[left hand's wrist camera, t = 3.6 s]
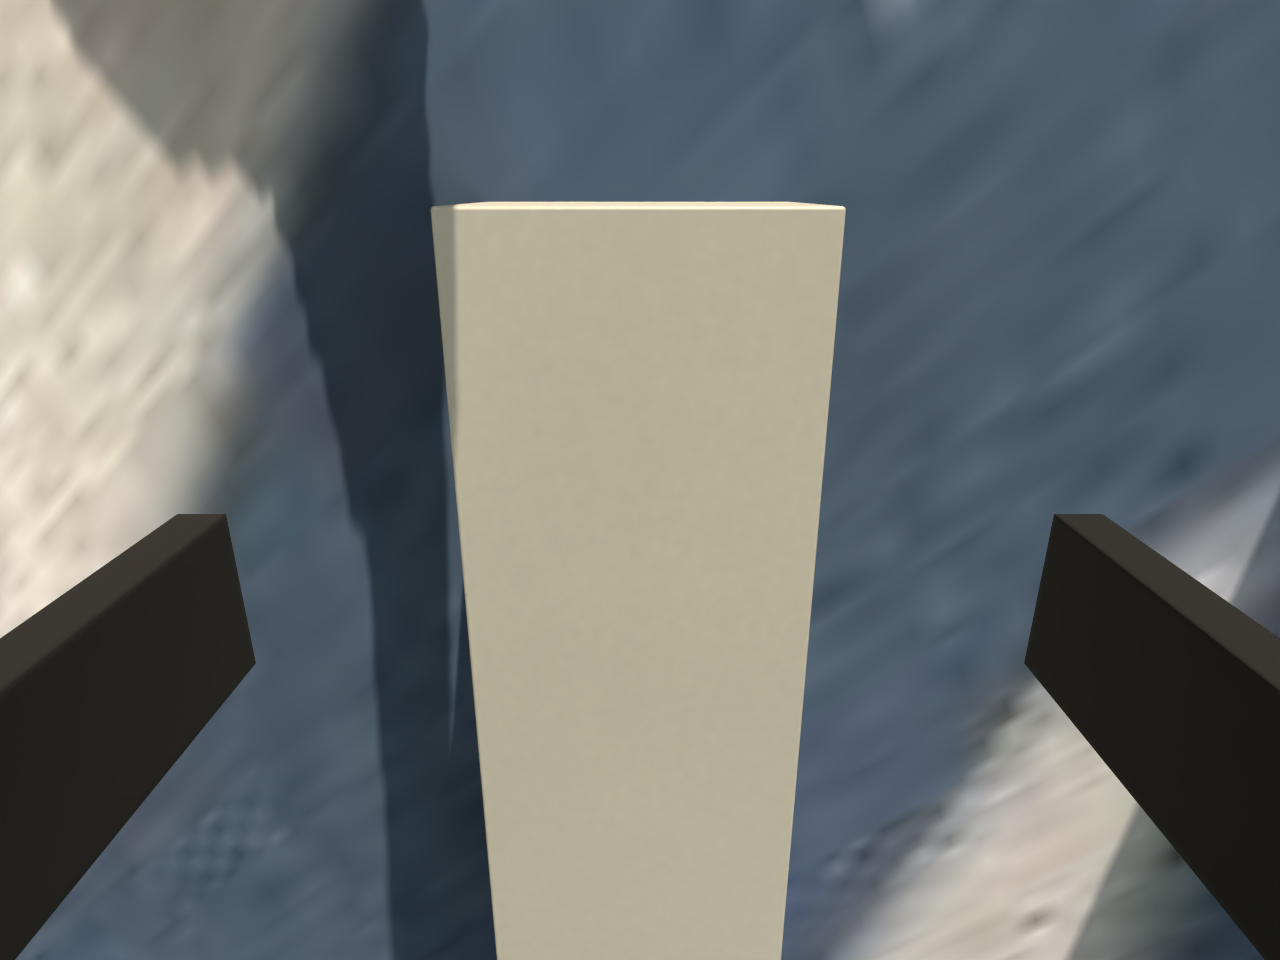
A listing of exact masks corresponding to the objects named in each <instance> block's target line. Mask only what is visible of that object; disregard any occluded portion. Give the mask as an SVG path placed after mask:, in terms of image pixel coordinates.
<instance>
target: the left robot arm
mask: <svg viewBox="0 0 1280 960" xmlns="http://www.w3.org/2000/svg"><path fill="white" fill-rule="evenodd" d="M255 663H256V662H255V657H254V652H253V647H252V642H251V637H250V632H249V627H248V622H247V617H246V612H245V607H244V602H243V597H242V592H241V587H240V582H239V577H238V572H237V567H236V563H235V558H234V553H233V548H232V543H231V538H230V533H229V528H228V523H227V518H226V514H177V515H176V516H174V517H173V518H171V519H170V520H169V521H167V522H166V523H164V524H163V525H161V526H160V527H159V528H157V529H156V530H154V531H153V532H151V533H150V534H149V535H147V536H146V537H144V538H143V539H141V540H140V541H139V542H137V543H136V544H134V545H133V546H132V547H130V548H129V549H127V550H126V551H124V552H123V553H122V554H120V555H119V556H117V557H116V558H114V559H113V560H112V561H110V562H109V563H107V564H106V565H104V566H103V567H102V568H100V569H99V570H97V571H96V572H94V573H93V574H92V575H90V576H89V577H87V578H86V579H84V580H83V581H82V582H80V583H79V584H77V585H76V586H75V587H73V588H72V589H70V590H69V591H67V592H66V593H65V594H63V595H62V596H60V597H59V598H57V599H56V600H55V601H53V602H52V603H50V604H49V605H47V606H46V607H45V608H43V609H42V610H40V611H39V612H37V613H36V614H35V615H33V616H32V617H30V618H29V619H27V620H26V621H25V622H23V623H22V624H20V625H19V626H17V627H16V628H15V629H13V630H12V631H10V632H9V633H8V634H6V635H5V636H3V637H2V638H0V960H15V959H16V958H17V957H18V955H19V954H20V953H21V952H22V950H23V949H24V948H25V947H26V945H27V944H28V943H29V942H30V940H31V939H32V938H33V937H34V936H35V934H36V933H37V932H38V931H39V929H40V928H41V927H42V926H43V924H44V923H45V922H46V921H47V920H48V918H49V917H50V916H51V915H52V913H53V912H54V911H55V910H56V908H57V907H58V906H59V905H60V904H61V902H62V901H63V900H64V899H65V897H66V896H67V895H68V894H69V892H70V891H71V890H72V889H73V888H74V886H75V885H76V884H77V883H78V881H79V880H80V879H81V878H82V876H83V875H84V874H85V873H86V872H87V870H88V869H89V868H90V867H91V865H92V864H93V863H94V862H95V860H96V859H97V858H98V857H99V855H100V854H101V853H102V852H103V851H104V849H105V848H106V847H107V846H108V844H109V843H110V842H111V841H112V839H113V838H114V837H115V836H116V835H117V833H118V832H119V831H120V830H121V828H122V827H123V826H124V825H125V823H126V822H127V821H128V820H129V819H130V817H131V816H132V815H133V814H134V812H135V811H136V810H137V809H138V807H139V806H140V805H141V804H142V803H143V801H144V800H145V799H146V798H147V796H148V795H149V794H150V793H151V791H152V790H153V789H154V788H155V787H156V785H157V784H158V783H159V782H160V780H161V779H162V778H163V777H164V775H165V774H166V773H167V772H168V770H169V769H170V768H171V767H172V766H173V764H174V763H175V762H176V761H177V759H178V758H179V757H180V756H181V754H182V753H183V752H184V751H185V750H186V748H187V747H188V746H189V745H190V743H191V742H192V741H193V740H194V738H195V737H196V736H197V735H198V734H199V732H200V731H201V730H202V729H203V727H204V726H205V725H206V724H207V722H208V721H209V720H210V719H211V718H212V716H213V715H214V714H215V713H216V711H217V710H218V709H219V708H220V706H221V705H222V704H223V703H224V702H225V700H226V699H227V698H228V697H229V695H230V694H231V693H232V692H233V690H234V689H235V688H236V687H237V685H238V684H239V683H240V682H241V681H242V679H243V678H244V677H245V676H246V674H247V673H248V672H249V671H250V669H251V668H252V667H253V666H254V665H255ZM1024 663H1025V665H1026V666H1027V667H1028V668H1029V669H1030V671H1031V672H1032V673H1033V674H1034V676H1035V677H1036V678H1037V679H1038V681H1039V682H1040V683H1041V684H1042V686H1043V687H1044V688H1045V689H1046V690H1047V692H1048V693H1049V694H1050V695H1051V697H1052V698H1053V699H1054V700H1055V702H1056V703H1057V704H1058V705H1059V706H1060V708H1061V709H1062V710H1063V711H1064V713H1065V714H1066V715H1067V716H1068V718H1069V719H1070V720H1071V721H1072V722H1073V724H1074V725H1075V726H1076V727H1077V729H1078V730H1079V731H1080V732H1081V734H1082V735H1083V736H1084V737H1085V738H1086V740H1087V741H1088V742H1089V743H1090V745H1091V746H1092V747H1093V748H1094V750H1095V751H1096V752H1097V753H1098V754H1099V756H1100V757H1101V758H1102V759H1103V761H1104V762H1105V763H1106V764H1107V766H1108V767H1109V768H1110V769H1111V770H1112V772H1113V773H1114V774H1115V775H1116V777H1117V778H1118V779H1119V780H1120V782H1121V783H1122V784H1123V785H1124V787H1125V788H1126V789H1127V790H1128V791H1129V793H1130V794H1131V795H1132V796H1133V798H1134V799H1135V800H1136V801H1137V803H1138V804H1139V805H1140V806H1141V807H1142V809H1143V810H1144V811H1145V812H1146V814H1147V815H1148V816H1149V817H1150V819H1151V820H1152V821H1153V822H1154V823H1155V825H1156V826H1157V827H1158V828H1159V830H1160V831H1161V832H1162V833H1163V835H1164V836H1165V837H1166V838H1167V839H1168V841H1169V842H1170V843H1171V844H1172V846H1173V847H1174V848H1175V849H1176V851H1177V852H1178V853H1179V854H1180V855H1181V857H1182V858H1183V859H1184V860H1185V862H1186V863H1187V864H1188V865H1189V867H1190V868H1191V869H1192V870H1193V872H1194V873H1195V874H1196V875H1197V876H1198V878H1199V879H1200V880H1201V881H1202V883H1203V884H1204V885H1205V886H1206V888H1207V889H1208V890H1209V891H1210V892H1211V894H1212V895H1213V896H1214V897H1215V899H1216V900H1217V901H1218V902H1219V904H1220V905H1221V906H1222V907H1223V908H1224V910H1225V911H1226V912H1227V913H1228V915H1229V916H1230V917H1231V918H1232V920H1233V921H1234V922H1235V923H1236V924H1237V926H1238V927H1239V928H1240V929H1241V931H1242V932H1243V933H1244V934H1245V936H1246V937H1247V938H1248V939H1249V940H1250V942H1251V943H1252V944H1253V945H1254V947H1255V948H1256V949H1257V950H1258V952H1259V953H1260V954H1261V955H1262V957H1263V958H1264V959H1265V960H1280V638H1278V637H1277V636H1275V635H1274V634H1272V633H1271V632H1270V631H1268V630H1267V629H1265V628H1264V627H1263V626H1261V625H1260V624H1258V623H1257V622H1255V621H1254V620H1253V619H1251V618H1250V617H1248V616H1247V615H1245V614H1244V613H1243V612H1241V611H1240V610H1238V609H1237V608H1235V607H1234V606H1233V605H1231V604H1230V603H1228V602H1227V601H1225V600H1224V599H1223V598H1221V597H1220V596H1218V595H1217V594H1215V593H1214V592H1213V591H1211V590H1210V589H1208V588H1207V587H1205V586H1204V585H1203V584H1201V583H1200V582H1198V581H1197V580H1196V579H1194V578H1193V577H1191V576H1190V575H1188V574H1187V573H1186V572H1184V571H1183V570H1181V569H1180V568H1178V567H1177V566H1176V565H1174V564H1173V563H1171V562H1170V561H1168V560H1167V559H1166V558H1164V557H1163V556H1161V555H1160V554H1158V553H1157V552H1156V551H1154V550H1153V549H1151V548H1150V547H1148V546H1147V545H1146V544H1144V543H1143V542H1141V541H1140V540H1139V539H1137V538H1136V537H1134V536H1133V535H1131V534H1130V533H1129V532H1127V531H1126V530H1124V529H1123V528H1121V527H1120V526H1119V525H1117V524H1116V523H1114V522H1113V521H1111V520H1110V519H1109V518H1107V517H1106V516H1104V515H1103V514H1054V518H1053V523H1052V528H1051V533H1050V538H1049V543H1048V548H1047V553H1046V558H1045V563H1044V567H1043V572H1042V577H1041V582H1040V587H1039V592H1038V597H1037V602H1036V607H1035V612H1034V617H1033V622H1032V627H1031V632H1030V637H1029V642H1028V647H1027V652H1026V657H1025V662H1024Z"/></svg>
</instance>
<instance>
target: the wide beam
mask: <svg viewBox="0 0 1280 960" xmlns="http://www.w3.org/2000/svg"><path fill="white" fill-rule="evenodd" d="M845 213H846V210H845V207H843V206H832V205H820V204H808V203H796V202H482V203H469V204H457V205H445V206H434V207H432V208H431V218H432V229H433V240H434V252H435V263H436V274H437V286H438V297H439V308H440V320H441V331H442V342H443V354H444V365H445V376H446V387H447V399H448V410H449V421H450V433H451V444H452V455H453V467H454V478H455V489H456V501H457V512H458V523H459V535H460V546H461V557H462V569H463V580H464V591H465V603H466V614H467V625H468V637H469V648H470V659H471V671H472V682H473V693H474V705H475V716H476V727H477V739H478V750H479V761H480V773H481V784H482V795H483V806H484V818H485V829H486V840H487V852H488V863H489V874H490V886H491V897H492V908H493V920H494V931H495V942H496V954H497V960H781V950H782V938H783V927H784V915H785V904H786V892H787V881H788V869H789V858H790V846H791V835H792V823H793V811H794V800H795V788H796V777H797V765H798V754H799V742H800V731H801V719H802V708H803V696H804V685H805V673H806V662H807V650H808V639H809V627H810V616H811V604H812V593H813V581H814V570H815V558H816V547H817V535H818V524H819V512H820V501H821V489H822V477H823V466H824V454H825V443H826V431H827V420H828V408H829V397H830V385H831V374H832V362H833V351H834V339H835V328H836V316H837V305H838V293H839V282H840V270H841V259H842V247H843V236H844V224H845Z"/></svg>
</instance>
